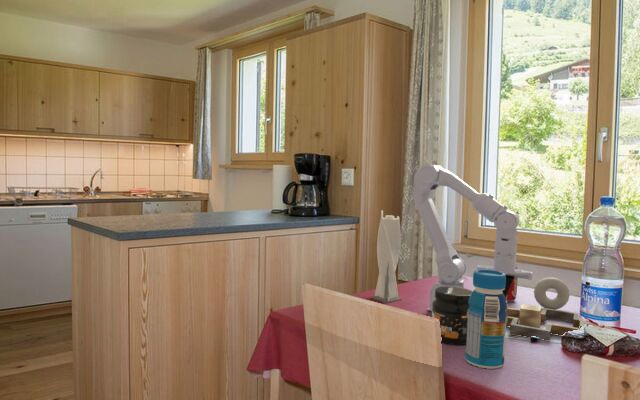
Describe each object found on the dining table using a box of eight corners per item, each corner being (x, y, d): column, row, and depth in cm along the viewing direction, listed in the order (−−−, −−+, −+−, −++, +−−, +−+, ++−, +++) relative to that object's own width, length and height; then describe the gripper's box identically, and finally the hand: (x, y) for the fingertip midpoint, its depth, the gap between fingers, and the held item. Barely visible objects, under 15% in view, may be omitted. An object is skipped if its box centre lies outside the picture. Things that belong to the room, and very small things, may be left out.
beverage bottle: (456, 361, 110) (462, 271, 109) (475, 352, 116) (481, 266, 115) (493, 373, 104) (499, 278, 103) (511, 363, 110) (517, 273, 109)
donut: (533, 308, 154) (535, 276, 154) (532, 306, 158) (534, 274, 157) (569, 313, 151) (571, 280, 150) (567, 310, 154) (569, 278, 154)
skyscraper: (367, 296, 161) (371, 209, 159) (384, 293, 166) (388, 209, 164) (386, 303, 155) (391, 212, 153) (404, 299, 160) (408, 211, 158)
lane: (488, 330, 132) (489, 317, 132) (501, 309, 152) (502, 298, 152) (583, 347, 122) (584, 333, 121) (584, 322, 142) (585, 310, 142)
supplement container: (422, 337, 125) (424, 290, 124) (443, 328, 132) (446, 283, 131) (460, 349, 118) (463, 299, 117) (481, 339, 125) (484, 291, 124)
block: (518, 326, 137) (520, 308, 137) (521, 321, 141) (522, 303, 141) (538, 329, 135) (539, 311, 134) (540, 324, 139) (541, 306, 139)
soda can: (512, 297, 167) (515, 261, 166) (518, 303, 160) (521, 266, 159) (490, 296, 168) (493, 260, 167) (496, 301, 161) (498, 264, 160)
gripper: (475, 252, 140) (473, 300, 141) (531, 258, 133) (528, 309, 134) (480, 249, 146) (478, 295, 147) (534, 255, 139) (531, 303, 140)
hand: (502, 301), depth 141 cm, fingers closed
